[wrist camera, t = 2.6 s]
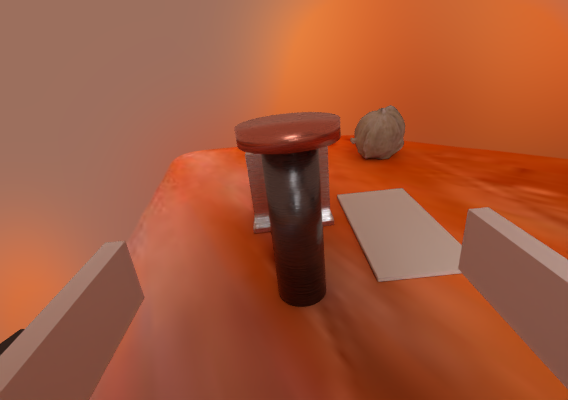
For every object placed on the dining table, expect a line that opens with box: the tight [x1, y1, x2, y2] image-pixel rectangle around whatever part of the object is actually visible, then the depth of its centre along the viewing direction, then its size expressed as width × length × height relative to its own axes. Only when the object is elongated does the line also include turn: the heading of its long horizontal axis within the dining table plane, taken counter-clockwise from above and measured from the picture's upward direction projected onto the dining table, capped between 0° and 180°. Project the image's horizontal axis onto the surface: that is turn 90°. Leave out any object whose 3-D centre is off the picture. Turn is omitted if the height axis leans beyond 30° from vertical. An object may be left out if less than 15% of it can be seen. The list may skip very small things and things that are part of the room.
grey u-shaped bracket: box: [245, 146, 334, 233], centre depth 37 cm, size 9×5×9 cm, turn 93°
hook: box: [235, 112, 340, 307], centre depth 31 cm, size 7×24×14 cm, turn 3°
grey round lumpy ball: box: [350, 105, 405, 159], centre depth 56 cm, size 9×8×10 cm
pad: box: [337, 188, 462, 282], centre depth 35 cm, size 9×18×1 cm, turn 3°
